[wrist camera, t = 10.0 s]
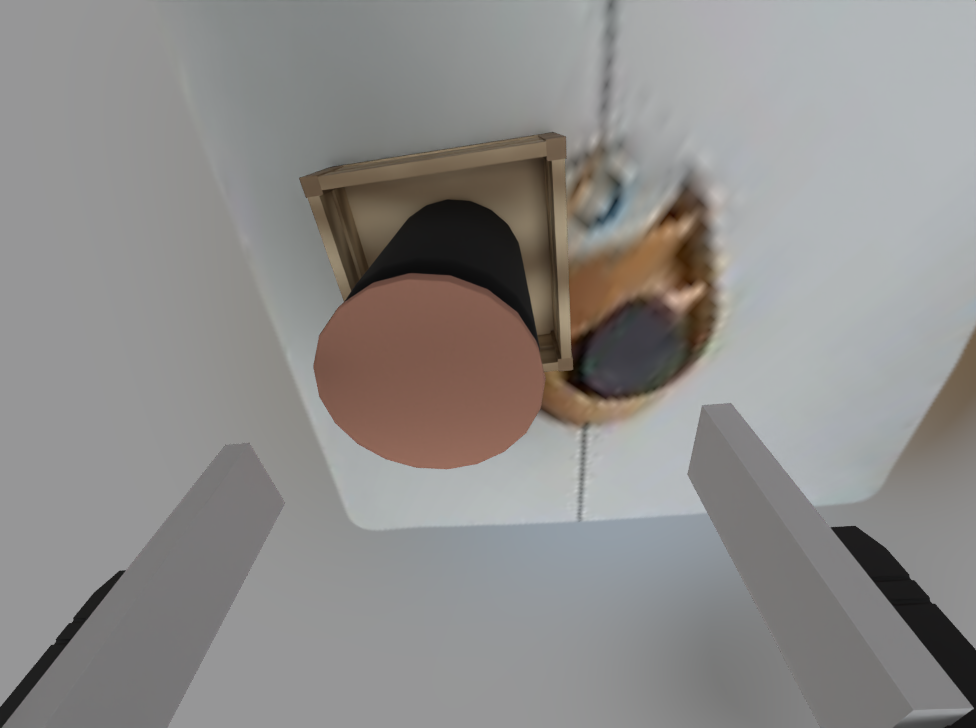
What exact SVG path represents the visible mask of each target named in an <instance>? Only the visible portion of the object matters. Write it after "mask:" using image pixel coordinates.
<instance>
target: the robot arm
mask: <svg viewBox="0 0 976 728" xmlns="http://www.w3.org/2000/svg"><path fill="white" fill-rule="evenodd" d="M687 475H688V476H689V478H690V480H691V482H692V484H693V486H694V488H695V490H696V492H697V494H698V496H699V497H700V499H701V501H702V503H703V505H704V507H705V509H706V511H707V513H708V515H709V516H710V518H711V520H712V522H713V524H714V526H715V528H716V530H717V532H718V534H719V535H720V537H721V539H722V541H723V543H724V545H725V547H726V549H727V551H728V553H729V554H730V557H731V558H732V560H733V562H734V564H735V566H736V568H737V570H738V572H739V574H740V575H741V578H742V579H743V581H744V583H745V585H746V587H747V589H748V591H749V593H750V595H751V597H752V599H753V600H754V602H755V604H756V606H757V608H758V610H759V612H760V614H761V616H762V618H763V620H764V621H765V623H766V625H767V627H768V629H769V631H770V633H771V635H772V637H773V639H774V641H775V642H776V644H777V646H778V648H779V650H780V652H781V654H782V656H783V658H784V660H785V661H786V663H787V665H788V667H789V669H790V671H791V673H792V675H793V677H794V679H795V681H796V682H797V684H798V686H799V688H800V690H801V692H802V694H803V696H804V698H805V700H806V702H807V703H808V705H809V707H810V709H811V711H812V713H813V715H814V717H815V719H816V720H817V723H818V724H819V726H820V728H976V650H975V648H974V647H973V646H972V645H971V644H970V643H969V642H968V641H967V639H966V638H965V637H964V636H963V635H962V634H961V633H960V632H959V630H958V629H957V628H956V627H955V626H954V625H953V624H952V622H951V621H950V620H949V619H948V618H947V617H946V616H945V615H944V614H943V612H942V611H941V610H940V609H939V608H938V607H937V605H936V604H932V603H931V602H930V598H929V596H928V595H927V594H926V593H925V592H924V591H923V590H922V589H921V587H920V586H919V585H918V584H917V583H916V582H915V581H914V580H911V579H910V577H909V574H908V573H907V572H906V571H905V569H904V568H903V567H902V566H901V565H900V564H899V563H898V561H897V560H896V559H895V558H894V557H893V556H892V555H891V554H890V552H889V551H888V550H887V549H886V548H885V547H884V546H882V545H881V544H879V543H878V542H877V541H875V540H874V539H873V538H871V537H870V536H868V535H867V534H866V533H864V532H863V531H862V530H860V529H859V528H857V527H856V526H845V527H829V525H828V524H827V523H826V522H825V520H824V519H823V518H822V517H821V516H820V514H819V513H818V512H817V510H816V509H815V508H814V507H813V505H812V504H811V503H810V502H809V500H808V499H807V498H806V497H805V495H804V494H803V493H802V491H801V490H800V489H799V488H798V486H797V485H796V484H795V483H794V481H793V480H792V479H791V478H790V476H789V475H788V474H787V473H786V471H785V470H784V469H783V468H782V466H781V465H780V464H779V463H778V461H777V460H776V459H775V458H774V456H773V455H772V454H771V453H770V451H769V450H768V449H767V448H766V446H765V445H764V444H763V442H762V441H761V440H760V439H759V437H758V436H757V435H756V434H755V432H754V431H753V430H752V429H751V427H750V426H749V425H748V424H747V422H746V421H745V420H744V419H743V417H742V416H741V415H740V414H739V412H738V411H737V410H736V409H735V407H734V406H733V405H732V404H731V403H725V404H713V405H702V408H701V413H700V418H699V423H698V427H697V432H696V437H695V441H694V446H693V451H692V456H691V460H690V465H689V470H688V474H687ZM284 504H285V502H284V500H283V498H282V497H281V495H280V493H279V492H278V490H277V488H276V487H275V485H274V483H273V482H272V480H271V478H270V477H269V475H268V473H267V472H266V470H265V468H264V466H263V465H262V463H261V462H260V460H259V458H258V456H257V455H256V453H255V451H254V450H253V448H252V446H251V445H250V443H242V444H231V445H225V446H224V447H223V449H222V450H221V451H220V452H219V453H218V455H217V456H216V457H215V459H214V460H213V461H212V462H211V464H210V465H209V466H208V468H207V469H206V470H205V471H204V473H203V474H202V475H201V476H200V478H199V479H198V480H197V481H196V483H195V484H194V485H193V486H192V488H191V489H190V490H189V492H188V493H187V494H186V495H185V497H184V498H183V499H182V500H181V502H180V503H179V504H178V505H177V507H176V508H175V509H174V510H173V512H172V513H171V514H170V515H169V517H168V518H167V519H166V521H165V522H164V523H163V524H162V526H161V527H160V528H159V529H158V531H157V532H156V533H155V535H154V536H153V537H152V538H151V539H150V541H149V542H148V543H147V545H146V546H145V547H144V548H143V550H142V551H141V552H140V553H139V555H138V556H137V557H136V558H135V560H134V561H133V562H132V564H131V565H130V566H129V567H128V569H127V570H125V571H119V572H118V573H117V574H115V575H114V576H113V577H112V578H111V579H110V580H108V581H107V582H106V583H105V584H104V585H103V586H102V587H100V588H99V589H98V590H97V591H96V592H94V594H93V595H92V596H91V597H90V598H89V600H88V601H87V602H86V603H85V604H84V606H83V607H82V608H81V609H80V611H79V612H78V613H77V614H76V615H75V617H74V618H73V619H74V620H73V622H72V623H69V624H68V625H67V626H66V628H65V629H64V630H63V631H62V632H61V634H60V635H59V636H58V637H57V639H56V643H55V644H54V645H51V646H50V647H49V648H48V650H47V651H46V652H45V653H44V654H43V656H42V657H41V658H40V660H39V661H38V662H37V663H36V664H35V665H34V667H33V668H32V669H31V670H30V672H29V673H28V674H27V675H26V676H25V678H24V679H23V680H22V681H21V683H20V684H19V685H18V686H17V687H16V689H15V690H14V691H13V692H12V694H11V695H10V696H9V697H8V698H7V700H6V701H5V702H4V703H3V704H2V706H1V707H0V728H167V727H168V725H169V723H170V722H171V720H172V718H173V716H174V714H175V712H176V710H177V708H178V706H179V704H180V702H181V701H182V699H183V697H184V695H185V693H186V691H187V689H188V687H189V685H190V683H191V681H192V680H193V678H194V676H195V674H196V672H197V670H198V668H199V666H200V664H201V662H202V661H203V659H204V657H205V655H206V653H207V651H208V649H209V647H210V645H211V643H212V641H213V640H214V638H215V636H216V634H217V632H218V630H219V628H220V626H221V624H222V622H223V620H224V618H225V617H226V615H227V613H228V611H229V609H230V607H231V605H232V603H233V601H234V600H235V597H236V596H237V594H238V592H239V590H240V588H241V586H242V584H243V582H244V580H245V579H246V576H247V575H248V573H249V571H250V569H251V567H252V565H253V563H254V561H255V560H256V558H257V555H258V554H259V552H260V550H261V548H262V546H263V544H264V542H265V540H266V538H267V537H268V535H269V533H270V531H271V529H272V527H273V525H274V523H275V521H276V519H277V517H278V516H279V514H280V512H281V510H282V508H283V506H284Z"/></svg>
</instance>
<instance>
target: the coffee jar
mask: <svg viewBox="0 0 976 728" xmlns="http://www.w3.org/2000/svg"><path fill="white" fill-rule="evenodd" d="M314 372H315V377H316V382H317V387H318V392H319V397H320V398H321V400H322V402H323V403H324V405H325V407H326V408H327V410H328V412H329V413H330V415H331V417H332V418H333V420H334V422H335V423H336V424H337V425H338V426H339V427H340V428H341V429H342V430H343V431H344V432H346V433H347V434H348V435H349V436H350V437H351V438H352V439H353V440H354V441H355V442H356V443H357V444H359V445H361V446H363V447H364V448H366V449H368V450H370V451H372V452H374V453H375V454H377V455H379V456H381V457H383V458H385V459H387V460H391V461H394V462H398V463H402V464H405V465H409V466H412V467H416V468H435V469H451V468H457V467H462V466H468V465H473V464H478V463H480V462H482V461H485V460H487V459H489V458H491V457H493V456H496V455H498V454H500V453H502V452H504V451H506V450H507V449H508V448H509V447H510V446H511V445H513V444H514V443H515V442H516V441H517V440H518V439H520V438H521V437H522V436H523V435H524V434H525V433H526V432H527V430H528V429H529V427H530V425H531V424H532V422H533V420H534V418H535V417H536V415H537V413H538V412H539V410H540V408H541V403H542V397H543V391H544V385H545V379H546V378H545V374H544V369H543V365H542V360H541V356H540V346H539V341H538V336H537V331H536V326H535V320H534V315H533V310H532V305H531V300H530V295H529V290H528V285H527V280H526V275H525V270H524V265H523V260H522V255H521V251H520V246H519V242H518V241H517V239H516V237H515V235H514V234H513V232H512V230H511V229H510V227H509V225H508V224H507V223H506V222H505V221H504V220H502V219H501V218H500V217H499V216H498V215H497V214H496V213H494V212H493V211H492V210H491V209H489V208H486V207H484V206H481V205H479V204H477V203H474V202H472V201H466V200H450V199H447V200H443V201H440V202H436V203H433V204H429V205H426V206H425V207H423V208H422V209H420V210H419V211H418V212H416V213H415V214H413V215H412V216H410V217H409V218H408V219H407V221H406V222H405V223H404V224H403V226H402V227H401V228H400V229H399V231H398V232H397V233H396V234H395V236H394V237H393V238H392V240H391V241H390V242H389V243H388V245H387V246H386V247H385V248H384V250H383V251H382V252H381V253H380V255H379V256H378V257H377V258H376V260H375V261H374V262H373V263H372V265H371V266H370V267H369V269H368V270H367V271H366V272H365V274H364V275H363V276H362V277H361V279H360V280H359V281H358V282H357V284H356V285H355V286H354V288H353V289H352V291H351V292H350V294H349V295H348V297H347V298H346V300H345V301H344V303H343V304H342V305H340V306H339V307H338V308H337V310H336V311H335V313H334V314H333V316H332V317H331V319H330V320H329V322H328V323H327V325H326V326H325V328H324V329H323V331H322V332H321V334H320V335H319V340H318V345H317V350H316V355H315V361H314Z"/></svg>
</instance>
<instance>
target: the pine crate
mask: <svg viewBox="0 0 976 728" xmlns="http://www.w3.org/2000/svg"><path fill="white" fill-rule="evenodd" d="M565 159H566V137H565V136H563V135H560V134H557V133H554V132H552V133H545V134H539V135H532V136H526V137H520V138H513V139H507V140H501V141H494V142H488V143H481V144H475V145H469V146H462V147H456V148H449V149H443V150H437V151H430V152H424V153H417V154H411V155H405V156H398V157H392V158H385V159H379V160H373V161H366V162H360V163H354V164H347V165H341V166H334V167H330V168H327V169H324V170H321V171H318V172H315V173H312V174H309V175H306V176H303V177H300V178H299V179H300V182H301V185H302V188H303V191H304V193H305V196H306V198H308V200H309V203H310V206H311V209H312V212H313V215H314V218H315V220H316V223H317V226H318V229H319V232H320V235H321V237H322V240H323V243H324V246H325V249H326V252H327V254H328V257H329V260H330V263H331V266H332V269H333V272H334V274H335V277H336V280H337V283H338V286H339V289H340V291H341V294H342V297H343V300H344V301H345V300H346V298H347V297H348V295H349V294H350V292H351V291H352V289H353V288H354V286H355V285H356V284H357V282H358V281H359V280H360V279H361V277H362V276H363V275H364V274H365V272H366V271H367V270H368V269H369V267H370V266H371V265H372V263H373V262H374V261H375V260H376V258H377V257H378V256H379V255H380V253H381V252H382V251H383V250H384V248H385V247H386V246H387V245H388V243H389V242H390V241H391V240H392V238H393V237H394V236H395V234H396V233H397V232H398V231H399V229H400V228H401V227H402V226H403V224H404V223H405V222H406V221H407V219H408V218H409V217H410V216H412V215H413V214H415V213H416V212H418V211H419V210H420V209H422V208H423V207H425V206H426V205H429V204H433V203H436V202H440V201H443V200H447V199H450V200H466V201H472V202H474V203H477V204H479V205H481V206H484V207H486V208H489V209H491V210H492V211H493V212H494V213H496V214H497V215H498V216H499V217H500V218H501V219H502V220H504V221H505V222H506V223H507V224H508V225H509V227H510V229H511V230H512V232H513V234H514V235H515V237H516V239H517V241H518V242H519V246H520V251H521V255H522V260H523V265H524V270H525V275H526V280H527V285H528V290H529V295H530V300H531V305H532V310H533V315H534V320H535V326H536V331H537V336H538V341H539V346H540V356H541V360H542V365H543V369H544V372H548V371H557V370H558V371H567V370H573V357H572V354H571V331H570V301H569V271H568V241H567V211H566V181H565Z"/></svg>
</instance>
